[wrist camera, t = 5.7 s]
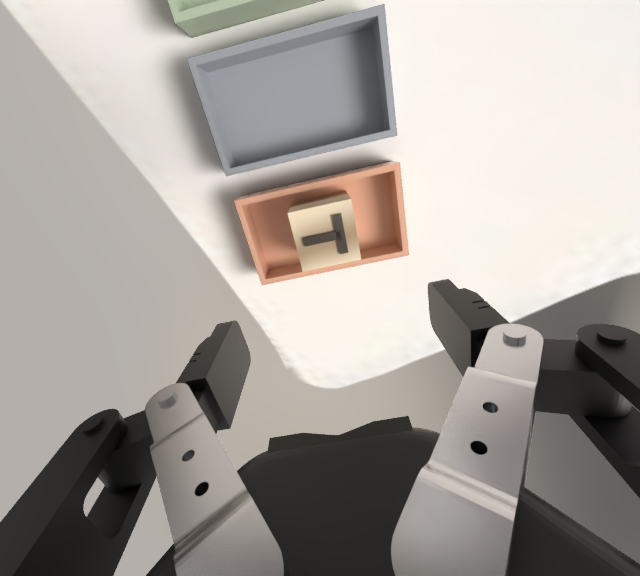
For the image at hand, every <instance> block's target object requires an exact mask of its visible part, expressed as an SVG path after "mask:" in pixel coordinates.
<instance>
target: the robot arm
mask: <svg viewBox="0 0 640 576" xmlns="http://www.w3.org/2000/svg"><path fill="white" fill-rule="evenodd" d="M428 297H429V311H430V320H431V324H432V327H433V330H434V332H435V333H436V335H437V336H438V338H439V340H440V341H441V343H442V344H443V346H444V347H445V349H446V350H447V352H448V354H449V355H450V357H451V358H452V360H453V362H454V363H455V365H456V366H457V368H458V369H459V371H460V372H461V374H462V376H463V380H462V382H461V384H460V387H459V389H458V392H457V394H456V397H455V399H454V401H453V404H452V407H451V409H450V411H449V414H448V416H447V419H446V421H445V423H444V426H443V428H442V431H441V433H437V432H434V431H431V430H427V429H421V428H413V427H412V426H411V423H410V420H409V417H408V416H406V417H399V418H393V419H387V420H380V421H374V422H371V423H369V424H366V425H364V426H361V427H359V428H356V429H354V430H351V431H349V432H346V433H344V434H341V435H324V434H311V433H300V434H293V435H287V436H281V437H274V438H270V441H269V447H268V451H266V452H263V453H261V454H260V455H258V456H256V457H254V458H253V459H251V460H250V461H248V462H247V463H246V464H245V465H243V466H242V467H241V468H240V469H239V470H238V471H236V469H235V467H234V466H233V464H232V462H231V460H230V459H229V457H228V455H227V453H226V452H225V450H224V448H223V446H222V444H221V443H220V441H219V439H218V437H217V435H216V433H217V430H223V429H230V427H231V424H232V421H233V418H234V414H235V411H236V408H237V405H238V401H239V398H240V395H241V392H242V389H243V385H244V382H245V379H246V376H247V373H248V369H249V366H250V352H249V349H248V346H247V344H246V341H245V339H244V336H243V334H242V331H241V328H240V326H239V324H238V322H237V321H230V322H225V323H220V324H217V326H216V327H215V329H214V331H213V333H212V335H211V336H210V337H208V338H206V339H205V340H204V341H203V342H202V343H201V344H200V345H199V346H198V347H197V349H196V351H195V352H194V354H193V355H194V356H192V358H191V359H190V361H189V363H188V364H187V366H186V367H185V369H184V371H183V372H182V374H181V376H180V377H179V379H178V381H177V382H176V384H173V385H170V386H168V387H165V388H163V389H162V390H160V391H159V392H157V393H156V394H155V395H154V396H153V397H152V398H151V399H150V400H149V401H148V403H147V404H146V407H145V410H144V411H141V412H140V413H137V414H134V415H131V416H129V417H126V418H124V419H123V417H122V416H121V414H120V413H119V412H118V410H116V409H108V410H104V411H102V412H99V413H97V414H95V415H93V416H91V417H90V418H88V419H87V420H85V421H84V422H83V423H82V424H80V425H79V426H78V427H77V428H76V429H75V430H74V432H73V433H72V434H71V435H70V436H69V438H68V439H67V440H66V441H65V443H64V444H63V445H62V446H61V448H60V449H59V450H58V451H57V453H56V454H55V455H54V457H53V458H52V459H51V460H50V461H49V463H48V464H47V465H46V466H45V468H44V469H43V470H42V471H41V473H40V474H39V475H38V476H37V477H36V479H35V480H34V481H33V483H32V484H31V485H30V486H29V488H28V489H27V490H26V491H25V493H24V494H23V495H22V496H21V497H20V499H19V500H18V501H17V502H16V504H15V505H14V506H13V507H12V509H11V510H10V511H9V512H8V514H7V515H6V516H5V517H4V519H3V520H2V521H1V522H0V576H113V575H114V572H115V570H116V568H117V565H118V563H119V561H120V559H121V556H122V554H123V552H124V550H125V547H126V545H127V543H128V540H129V538H130V536H131V533H132V531H133V529H134V527H135V524H136V522H137V520H138V517H139V515H140V513H141V511H142V508H143V506H144V503H145V501H146V499H147V497H148V495H149V492H150V490H151V488H152V485H153V483H154V481H155V479H156V476H157V479H158V483H159V486H160V491H161V494H162V498H163V503H164V506H165V510H166V514H167V518H168V522H169V526H170V530H171V534H172V538H173V542H174V544H173V545H172V546H171V547H170V548H169V550H168V551H167V552H166V553H165V554H164V555H163V556H162V558H161V559H160V560H159V561H158V562H157V563H156V565H155V566H154V567H153V568H152V569H151V570H150V571H149V573H148V574H147V575H146V576H640V564H639V563H637V562H636V561H634V560H633V559H631V558H630V557H628V556H627V555H625V554H624V553H622V552H621V551H619V550H617V549H616V548H615V547H613V546H612V545H610V544H609V543H607V542H606V541H604V540H603V539H601V538H600V537H598V536H597V535H595V534H594V533H592V532H591V531H589V530H588V529H586V528H585V527H583V526H582V525H580V524H579V523H577V522H576V521H574V520H573V519H571V518H570V517H568V516H567V515H565V514H564V513H562V512H561V511H559V510H558V509H556V508H555V507H553V506H552V505H550V504H549V503H547V502H546V501H544V500H543V499H541V498H540V497H538V496H537V495H536V494H534V493H532V492H531V491H530V490H528V489H527V488H525V483H526V476H527V468H528V460H529V453H530V446H531V439H532V433H533V426H534V419H535V412H536V411H540V412H549V413H560V414H569V416H570V417H571V418H572V419H573V420H574V422H575V423H576V424H577V425H578V426H579V427H580V429H581V430H582V431H583V432H584V433H585V434H586V436H587V437H588V438H589V439H590V440H591V442H592V443H593V444H594V445H595V446H596V447H597V448H598V450H599V451H600V452H601V453H602V454H603V456H604V457H605V458H606V459H607V460H608V461H609V463H610V464H611V465H612V466H613V467H614V469H615V470H616V471H617V472H618V473H619V474H620V476H621V477H622V478H623V479H624V480H625V481H626V483H627V484H628V485H629V486H630V487H631V489H632V490H633V491H634V492H635V493H636V494H637V496H638V497H639V498H640V412H638V411H637V410H636V409H635V408H634V407H633V406H632V404H633V405H634V406H635V407H636V408H637V409H638V410H639V411H640V334H638V333H636V332H634V331H632V330H629V329H626V328H623V327H619V326H614V325H608V324H593V325H587V326H584V327H582V328H580V329H579V330H578V332H577V338H576V340H549V339H543V337H542V336H541V334H540V333H539V332H537V331H536V330H534V329H532V328H530V327H527V326H523V325H519V324H510V323H509V322H508V321H507V320H506V319H504V318H503V317H502V316H501V315H500V314H499V313H498V312H497V311H496V310H495V309H494V308H492V307H490V305H489V304H488V303H487V302H486V301H484V299H483V298H482V297H480V296H479V295H478V294H477V293H475V292H473V291H470V290H468V289H466V288H463V289H458V288H457V287H456V286H455V285H454V284H453V283H452V282H451V281H450V280H449V279H446V280H441V281H436V282H430V283H429V284H428ZM97 477H98V478H99V479H100V480H101V481H102V482H103V484H104V485H105V487H104V488H103V490H102V492H101V493H100V495H99V497H98V498H97V500H96V502H95V504H94V506H93V507H92V509H91V511H90V512H89V514H88V516H87V517H86V516H85V514H84V511H83V504H84V500H85V497H86V495H87V493H88V492H89V490H90V488H91V487H92V485H93V484H94V482H95V480H96V479H97Z"/></svg>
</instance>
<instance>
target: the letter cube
mask: <svg viewBox="0 0 640 576" xmlns="http://www.w3.org/2000/svg"><path fill="white" fill-rule="evenodd" d="M287 214H288V217H289V221H290V225H291V229H292V233H293V236H294V240H295V244H296V248H297V252H298V256H299V259H300V263H301V267H302V271H303V272H304V271H309V270H314V269H318V268H323V267H328V266H333V265H338V264H343V263H348V262H352V261H357V260H361V254H360V248H359V242H358V237H357V231H356V225H355V219H354V213H353V207H352V201H351V198H350V196H349V195H348V193H347V192H346V190H344V191H340V192H335V193H331V194H327V195H322V196H318V197H313V198H309V199H305V200H300V201H296V202H292V204H291V206H290V209H289V211H288V213H287Z"/></svg>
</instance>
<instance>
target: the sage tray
mask: <svg viewBox="0 0 640 576" xmlns="http://www.w3.org/2000/svg"><path fill="white" fill-rule="evenodd" d="M320 1H323V0H168V3H169V6H170V9H171V12H172V15H173V18H174V21H175V24H177V25H178V26H179V27H180V28H181V29H182V30H184V31H185V32H186V33H187V34H188V35H189V36H191V37H196V36H199V35H203V34H207V33H210V32H214V31H217V30H221V29H224V28H228V27H231V26H235V25H238V24H242V23H245V22H249V21H253V20H256V19H260V18H263V17H267V16H270V15H274V14H277V13H281V12H284V11H288V10H291V9H295V8H298V7H302V6H306V5H309V4H313V3H316V2H320Z"/></svg>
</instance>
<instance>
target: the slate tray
mask: <svg viewBox="0 0 640 576" xmlns="http://www.w3.org/2000/svg"><path fill="white" fill-rule="evenodd" d="M187 61H188V64H189V67H190V70H191V73H192V76H193V79H194V82H195V85H196V88H197V91H198V94H199V97H200V100H201V103H202V106H203V109H204V112H205V115H206V118H207V121H208V124H209V127H210V130H211V133H212V136H213V139H214V142H215V145H216V148H217V151H218V154H219V157H220V160H221V163H222V166H223V169H224V172H225V175H226V176H229V175H234V174H238V173H242V172H246V171H250V170H255V169H259V168H263V167H267V166H271V165H275V164H280V163H284V162H288V161H292V160H296V159H301V158H305V157H309V156H313V155H317V154H322V153H326V152H330V151H334V150H338V149H342V148H347V147H351V146H355V145H359V144H363V143H368V142H372V141H376V140H380V139H384V138H388V137H393V136H397V128H396V118H395V107H394V97H393V87H392V77H391V66H390V56H389V46H388V36H387V25H386V15H385V5H384V4H382V5H379V6H375V7H372V8H368V9H364V10H361V11H357V12H353V13H350V14H346V15H343V16H339V17H335V18H332V19H328V20H325V21H321V22H317V23H314V24H310V25H307V26H303V27H299V28H296V29H292V30H289V31H285V32H281V33H278V34H274V35H270V36H267V37H263V38H260V39H256V40H252V41H249V42H245V43H242V44H238V45H234V46H231V47H227V48H224V49H220V50H216V51H213V52H209V53H205V54H202V55H198V56H195V57H191V58H187Z"/></svg>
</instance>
